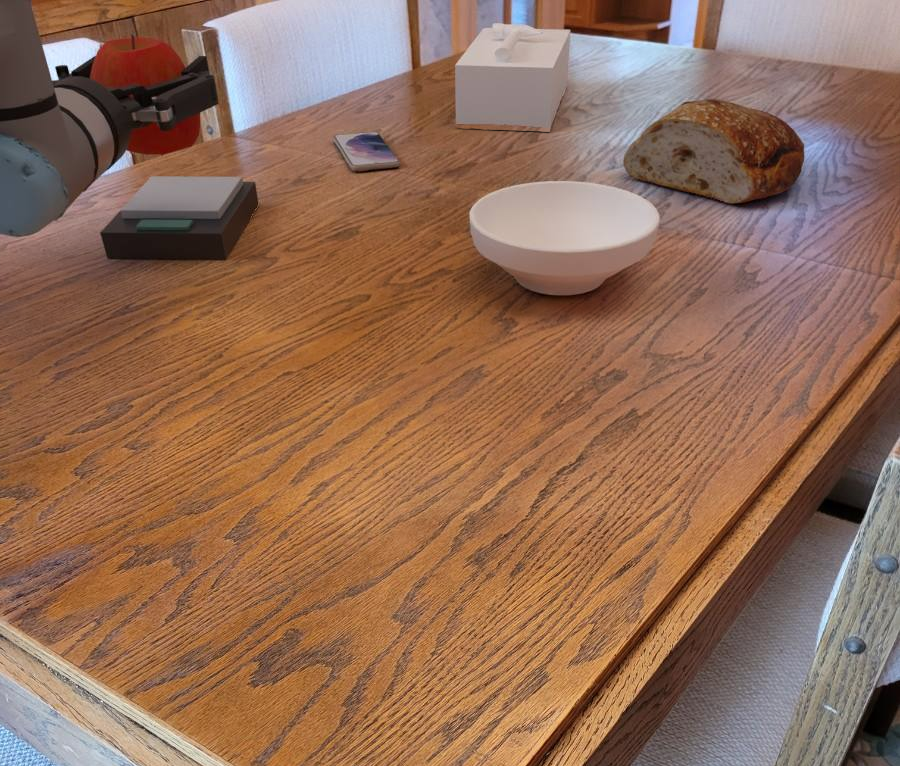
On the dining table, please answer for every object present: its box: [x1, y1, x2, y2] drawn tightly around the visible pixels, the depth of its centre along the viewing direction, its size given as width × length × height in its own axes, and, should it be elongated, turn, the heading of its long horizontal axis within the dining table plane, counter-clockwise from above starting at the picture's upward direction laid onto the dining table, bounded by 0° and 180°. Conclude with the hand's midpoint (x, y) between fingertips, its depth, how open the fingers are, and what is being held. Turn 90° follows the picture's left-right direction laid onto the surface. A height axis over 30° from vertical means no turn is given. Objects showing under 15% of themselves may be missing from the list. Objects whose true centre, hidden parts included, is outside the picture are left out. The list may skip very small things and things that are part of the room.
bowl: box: [468, 180, 661, 296], centre depth 95 cm, size 20×20×7 cm
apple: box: [89, 34, 202, 156], centre depth 93 cm, size 11×11×11 cm
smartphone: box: [332, 131, 401, 172], centre depth 129 cm, size 7×1×15 cm
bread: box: [622, 98, 805, 204], centre depth 116 cm, size 20×18×10 cm
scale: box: [99, 175, 260, 261], centre depth 109 cm, size 14×17×4 cm
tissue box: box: [454, 22, 571, 128], centre depth 142 cm, size 14×25×11 cm, turn 169°
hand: (153, 70), depth 96 cm, fingers closed on apple, 11 cm apart
